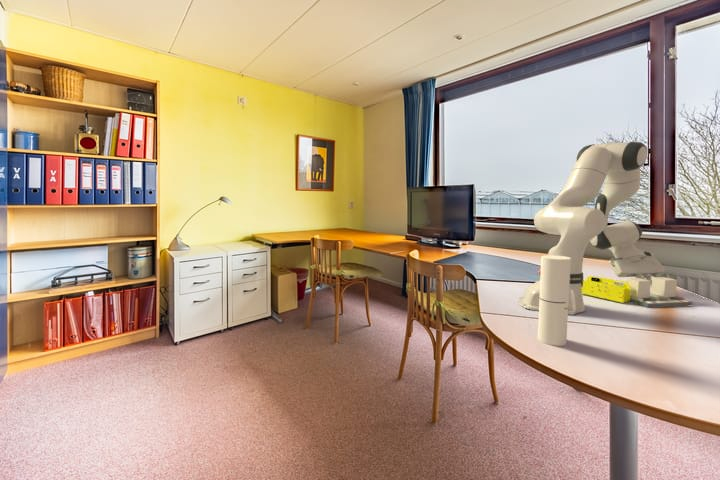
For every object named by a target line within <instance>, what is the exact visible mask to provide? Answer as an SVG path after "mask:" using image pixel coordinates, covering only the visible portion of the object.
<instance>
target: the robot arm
mask: <svg viewBox="0 0 720 480" xmlns="http://www.w3.org/2000/svg"><path fill="white" fill-rule="evenodd" d="M647 158H648V148H647V146H646V145H645V143H643V142H639V141H629V142H624V141H623V142H622V141H618V142H613V141H612V142H610V141H609V142H602V143H596V144H594V143H593V144H588V145H585V146H583V147H582V148H581V149H580V150H579V152H578V153H577V156H576V162H575V164H574V166H573V168H572V169H571V172H570V174H569V176H568V179H567V180H566V182H565V183H564V187H563V188H562V189H561V191H560V192H559V194H558V195H557V196H556V197H555V198H554V199H553V200H552V201H551V202H550V203H548V204H547V205H546V206H545V207H543V208H541V209H539V210H538V211H537V212H536V213H535V214H534V218H533V224H534V226H535V228H536V229H537V230H538V231H539V232H542V233H544V234H548V235H556V236H560V238H559V242H558V243H557V244H556V245H555V246H553V247H551V248H550V249H549V250H548V253H547V255H556V256H565V257H570V258H571V264H570V283H569V303H568V315H570V316H571V315H572V316H573V315H576V314H578V313H583V312H585V311H586V308H585V302H584V298H583V297H584V296H583V294H582V287H583V280H584V272H583V263H584V257H585V255H584V254H585V251H586V249H587V247H588V245H589V243H590V244H591V246H592V247H593V248H595V249H599V250H602V251H603V250H607V249H608V250H609V251H610V252H612V255H613V256H614V257H611V258H610V259H609V260H608V261H609V264H610V265H611V268H612V271H613V272H614V274H615V276H616V277H618V278H641V279H645V280H649V281H651V283H652V277H661V276H662V275H663V274H665V272H666V269H665V267H664V266H663V265H662V263H661V262H660V261H659V260H658V259H657V258H655V255H654V254H653V253H652V252H650V251H645V250H642V249H638V248H637V246H635V245H634V244H635V243H637V242H638V240H640V238H641V237H642V235H643V231H642V229H641V227H640V225H639V224H637V222H634V221H632V220H625V221H620V222H616V223H614V224H610V225H608V220H609V216H610V215H609V214H610V213H611V211H612V210H613V209H615V207H617V206H618V205H620V204H622V203H623V202H625V201H627V200H629V199H630V198H632V197H633V196H635V194H637V192H638V191H639V190H640V186H641V170H640V168H641V167H642V166H644V165H645V163H646V161H647ZM603 185H604V186H603ZM602 187H604V188H603V190H602V191H601V189H602ZM600 192H601V193H600ZM599 193H600V194H599ZM595 199H596V201H595V205H594V207H591V206H590V207H589V206H586V204H589V203H591V202H593V201H594V200H595ZM538 274H539V275H541V268H540V269H539V270H538ZM539 299H540V279H539V280H537V281H535V282H534V283H532V284H530V285H528V286H527V287H526V289H525V291H524V296H520V297H519V298H518V299H517V303H518V302H519V303H518V304H519V306H520V307H522V306H523V307H522V308H524V309H526V308H527V309H526V310H529V309H530V310H531V311H537V312H539Z"/></svg>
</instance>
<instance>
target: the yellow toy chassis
mask: <svg viewBox="0 0 720 480" xmlns="http://www.w3.org/2000/svg"><path fill="white" fill-rule="evenodd" d="M630 289H631V286H630V285H629V284H628V283H627V281H625V280H624V281H623V280H619V279H612V278H607V277H601V276H600V277H599V276H595V275H590V276H588V277H586V278H585V279H583V287H582V295H586V296H588V297H595V298H600V299H603V300H609V301H612V302H614V303H623V304H624V303H626V302H628V301H630Z"/></svg>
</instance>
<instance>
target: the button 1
mask: <svg viewBox="0 0 720 480" xmlns="http://www.w3.org/2000/svg"><path fill="white" fill-rule="evenodd" d="M645 279H646V278H645ZM645 279H641V278H636V277H626V283H628V284H629V285H630V286H631V289H630V295H631V296H634V297H637V298H650V293H651V281H649V280H645Z"/></svg>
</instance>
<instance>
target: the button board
mask: <svg viewBox="0 0 720 480" xmlns="http://www.w3.org/2000/svg"><path fill="white" fill-rule="evenodd" d="M627 302H628V303H632V304H635V305H637V306H641V307H643V308H646V309H650V308H654V309H655V308H669V307H670V308H671V307H672V308H673V307H677V306H678V307H688V306H687V305H692V306H693V302H692V301H690V300H686V297H684V296H680V295H677V294H676V297H664V296H660V295H656V294H653V293H651V292H650V298H637V297H634V296H631V295H630V301H627Z"/></svg>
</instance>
